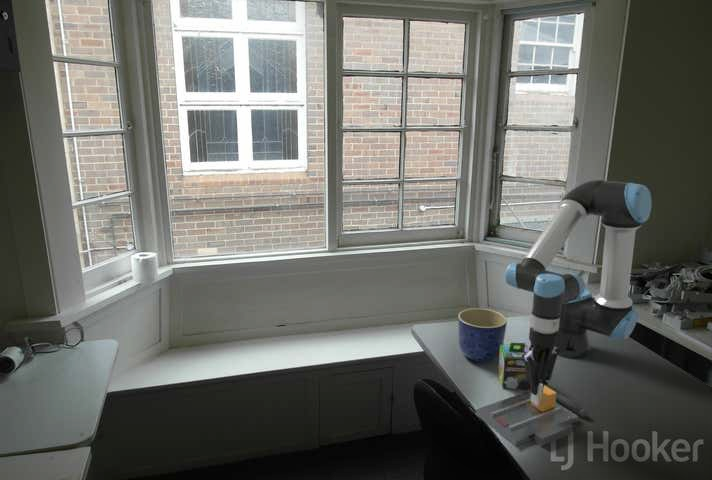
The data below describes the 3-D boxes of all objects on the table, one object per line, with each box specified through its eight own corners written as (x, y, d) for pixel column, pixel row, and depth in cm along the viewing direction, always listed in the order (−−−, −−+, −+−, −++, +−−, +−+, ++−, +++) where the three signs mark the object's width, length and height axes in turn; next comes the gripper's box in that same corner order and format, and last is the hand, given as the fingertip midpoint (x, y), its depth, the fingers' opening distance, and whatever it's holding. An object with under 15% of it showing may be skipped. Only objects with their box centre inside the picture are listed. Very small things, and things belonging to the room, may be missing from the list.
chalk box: (525, 375, 163) (528, 335, 159) (531, 390, 154) (535, 348, 150) (497, 374, 164) (500, 334, 160) (501, 388, 155) (505, 347, 151)
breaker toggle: (531, 404, 144) (532, 389, 142) (543, 399, 146) (544, 385, 145) (542, 412, 140) (544, 397, 139) (554, 407, 142) (556, 392, 141)
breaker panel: (475, 414, 142) (476, 407, 142) (534, 393, 153) (535, 386, 152) (515, 446, 128) (516, 438, 128) (577, 420, 139) (578, 413, 138)
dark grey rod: (541, 393, 153) (541, 386, 152) (546, 391, 154) (547, 384, 153) (582, 419, 139) (583, 412, 139) (588, 417, 140) (588, 410, 140)
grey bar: (534, 441, 130) (535, 433, 130) (565, 428, 135) (566, 421, 135) (541, 446, 128) (541, 438, 128) (572, 433, 133) (573, 425, 133)
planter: (501, 371, 166) (504, 330, 162) (452, 362, 172) (454, 323, 168) (505, 349, 181) (509, 311, 177) (460, 342, 187) (462, 305, 183)
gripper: (538, 338, 129) (529, 415, 135) (571, 329, 135) (561, 404, 141) (517, 327, 136) (509, 401, 142) (549, 319, 141) (541, 391, 147)
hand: (535, 402), depth 141 cm, fingers closed
